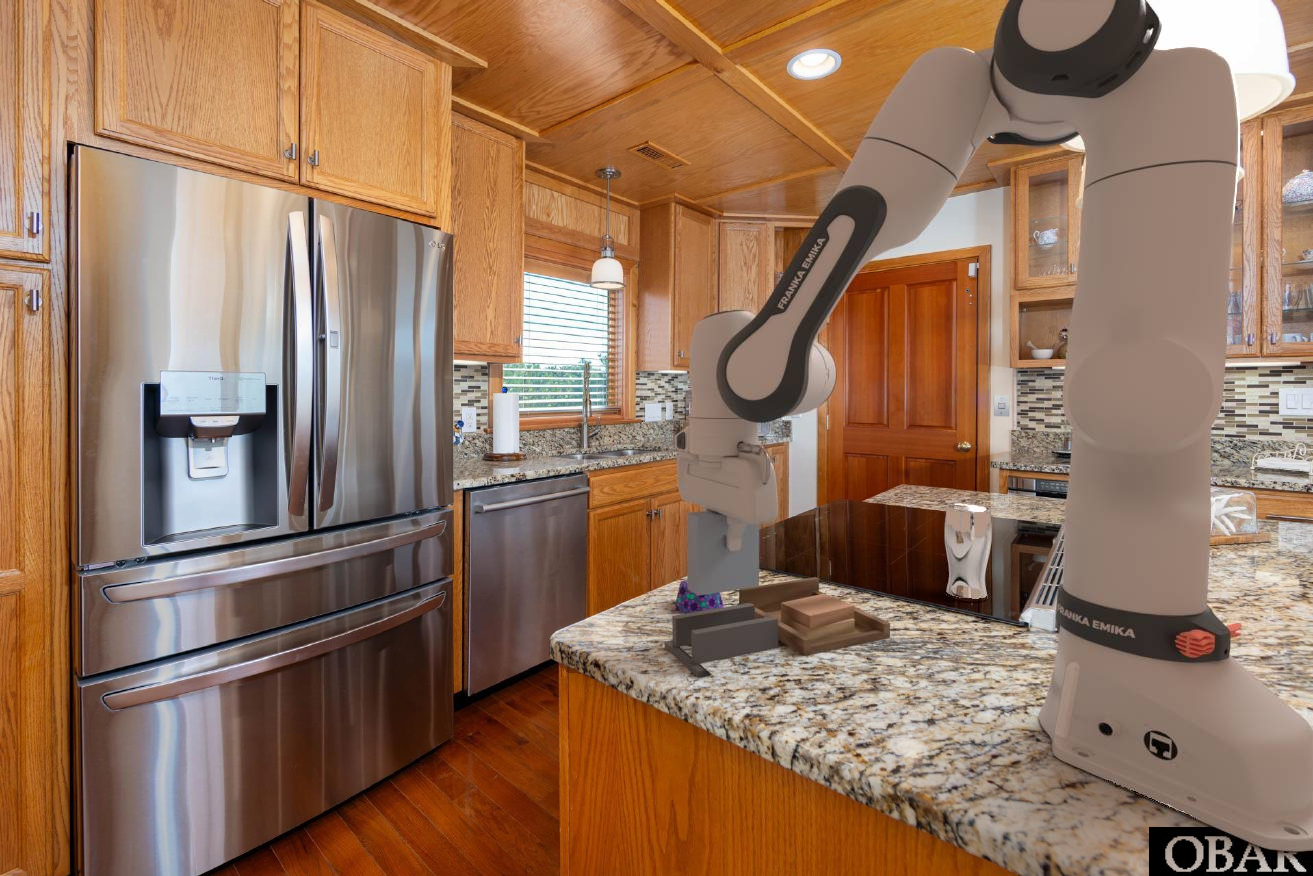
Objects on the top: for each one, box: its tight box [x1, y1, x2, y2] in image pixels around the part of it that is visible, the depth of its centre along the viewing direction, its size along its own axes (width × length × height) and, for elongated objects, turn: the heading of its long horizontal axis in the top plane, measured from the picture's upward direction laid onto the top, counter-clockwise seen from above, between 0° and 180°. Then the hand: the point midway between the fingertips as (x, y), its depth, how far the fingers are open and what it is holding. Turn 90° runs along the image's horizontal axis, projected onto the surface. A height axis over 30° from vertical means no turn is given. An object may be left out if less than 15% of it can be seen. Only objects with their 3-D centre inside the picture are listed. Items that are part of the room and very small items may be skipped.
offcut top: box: [781, 593, 855, 629], centre depth 87 cm, size 6×8×2 cm
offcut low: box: [781, 616, 855, 641], centre depth 87 cm, size 6×8×2 cm
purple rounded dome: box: [674, 579, 725, 614], centre depth 97 cm, size 12×12×5 cm
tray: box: [738, 576, 891, 657], centre depth 89 cm, size 16×14×5 cm
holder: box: [664, 603, 779, 679], centre depth 82 cm, size 10×13×5 cm
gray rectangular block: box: [686, 511, 760, 595], centre depth 81 cm, size 3×9×10 cm, turn 113°
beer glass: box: [944, 503, 993, 599], centre depth 103 cm, size 7×7×15 cm
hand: (723, 545), depth 81 cm, fingers closed on gray rectangular block, 3 cm apart
